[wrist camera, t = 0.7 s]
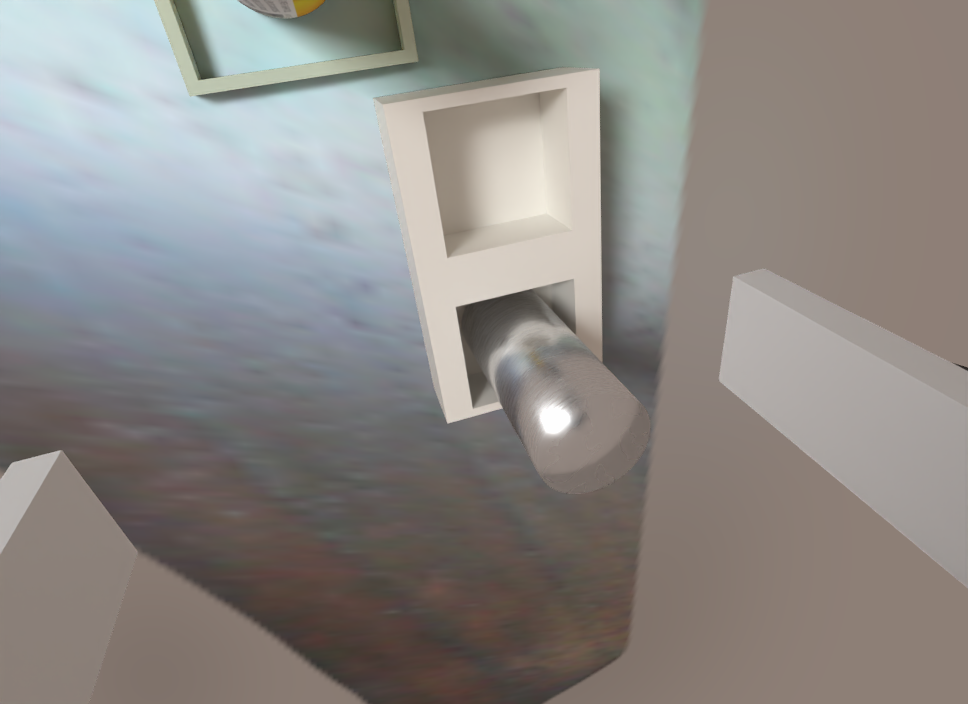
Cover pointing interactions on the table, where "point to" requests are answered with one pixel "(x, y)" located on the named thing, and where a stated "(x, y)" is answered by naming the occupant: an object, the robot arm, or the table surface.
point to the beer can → (282, 7)
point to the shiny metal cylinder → (556, 393)
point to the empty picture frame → (287, 73)
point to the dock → (497, 209)
